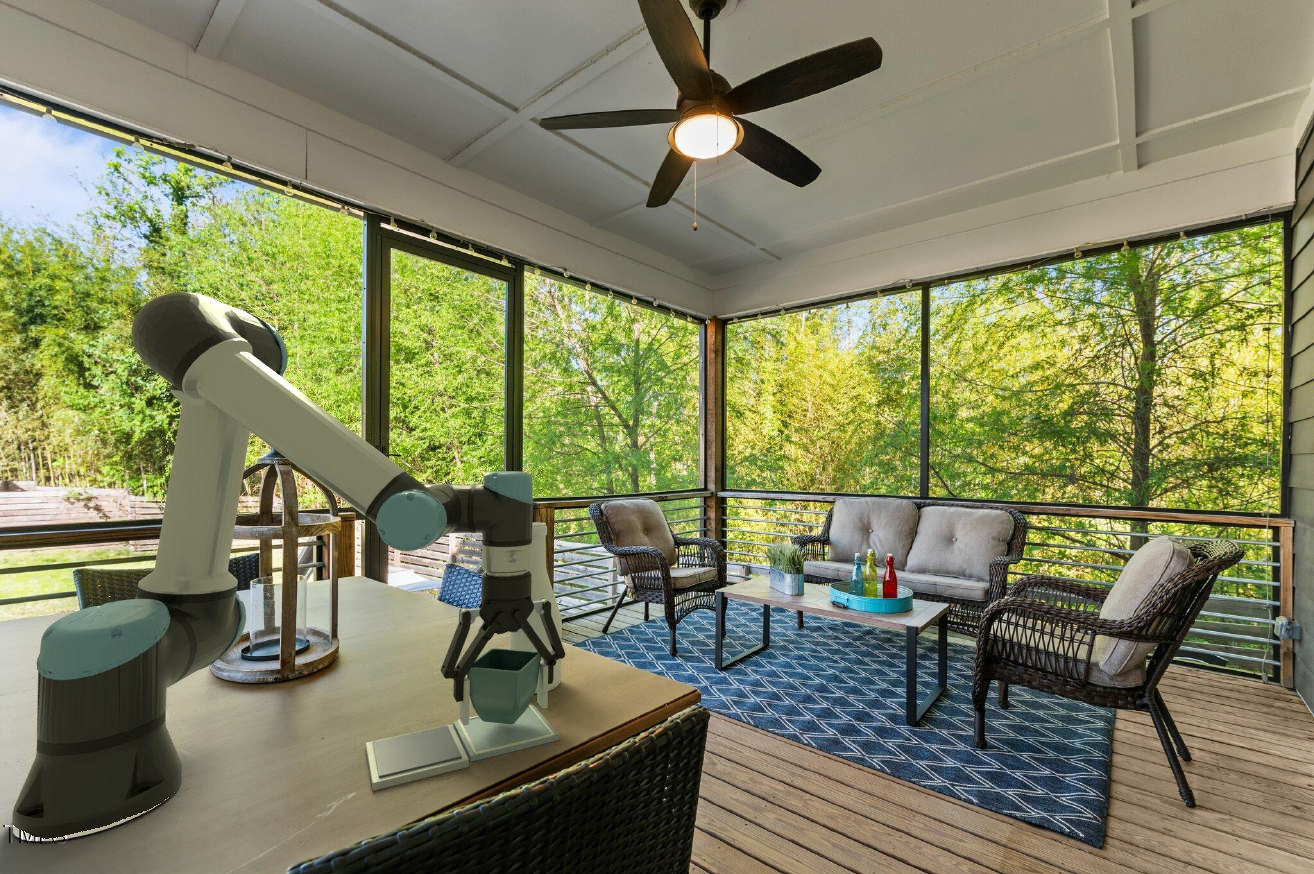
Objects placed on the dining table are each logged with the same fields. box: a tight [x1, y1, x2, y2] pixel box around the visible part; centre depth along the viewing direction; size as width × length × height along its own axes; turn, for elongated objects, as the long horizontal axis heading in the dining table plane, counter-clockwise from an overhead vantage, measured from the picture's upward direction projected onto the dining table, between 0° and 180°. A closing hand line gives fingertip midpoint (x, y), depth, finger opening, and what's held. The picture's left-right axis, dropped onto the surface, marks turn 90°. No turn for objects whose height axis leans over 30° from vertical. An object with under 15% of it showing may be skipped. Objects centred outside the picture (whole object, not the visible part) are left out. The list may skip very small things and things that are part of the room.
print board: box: [452, 704, 560, 763], centre depth 92 cm, size 13×12×1 cm
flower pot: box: [467, 647, 541, 724], centre depth 92 cm, size 9×9×9 cm
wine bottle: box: [508, 521, 563, 695], centre depth 111 cm, size 10×10×30 cm
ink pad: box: [365, 723, 470, 791], centre depth 84 cm, size 12×12×1 cm
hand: (504, 713), depth 92 cm, fingers open, 11 cm apart
